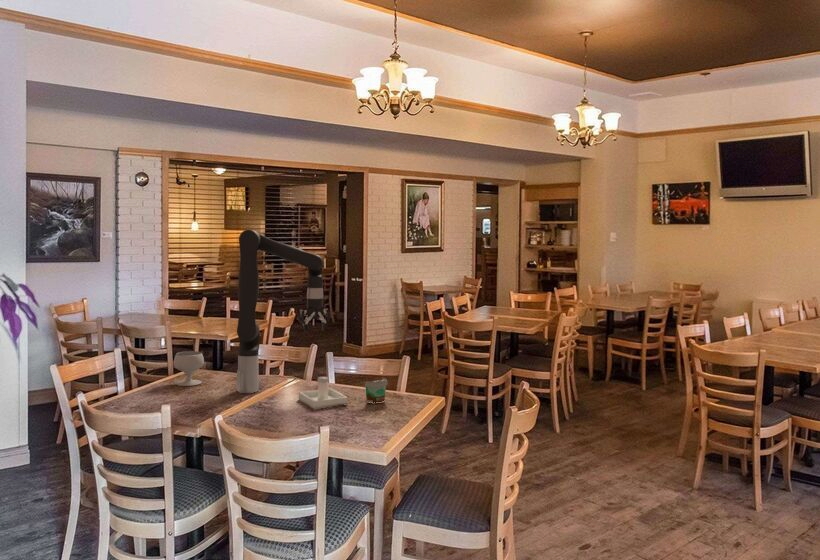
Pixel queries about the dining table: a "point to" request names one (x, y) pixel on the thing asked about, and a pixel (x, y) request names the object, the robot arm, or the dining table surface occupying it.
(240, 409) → the dining table surface
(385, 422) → the dining table surface
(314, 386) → the dining table surface
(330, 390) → the tray
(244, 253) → the robot arm
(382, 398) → the food container
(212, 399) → the dining table surface
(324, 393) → the salt shaker
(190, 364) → the chalice
